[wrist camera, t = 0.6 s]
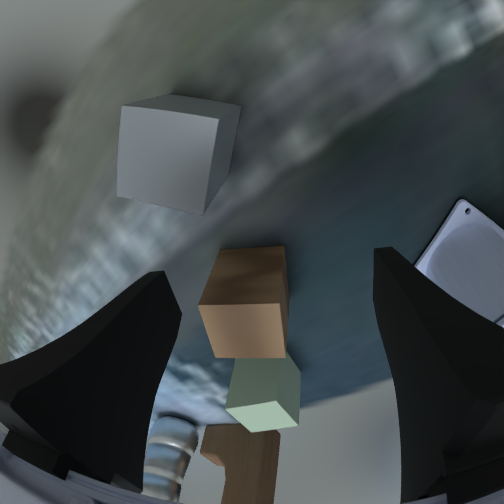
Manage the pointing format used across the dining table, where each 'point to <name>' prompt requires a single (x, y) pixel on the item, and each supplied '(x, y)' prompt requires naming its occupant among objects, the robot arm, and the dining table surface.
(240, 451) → the wooden block
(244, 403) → the sage block
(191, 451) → the plastic bottle
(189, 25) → the dining table surface
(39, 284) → the dining table surface
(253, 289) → the walnut block
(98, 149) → the dining table surface
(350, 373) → the dining table surface
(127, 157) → the grey block
